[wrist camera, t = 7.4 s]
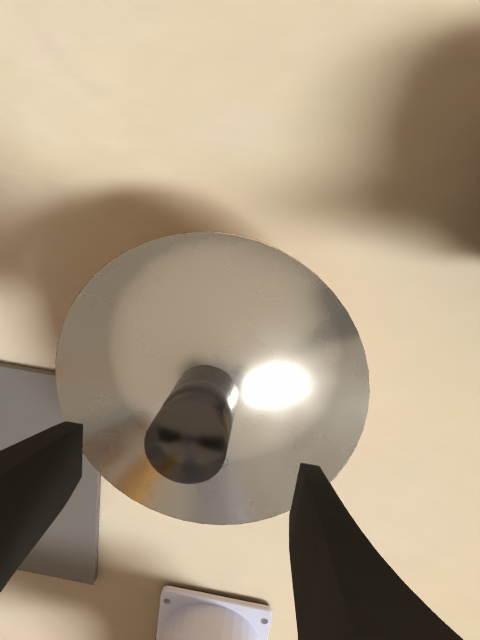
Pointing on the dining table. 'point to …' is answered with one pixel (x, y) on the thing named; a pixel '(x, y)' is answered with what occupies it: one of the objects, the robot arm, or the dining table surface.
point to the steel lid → (211, 376)
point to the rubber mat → (83, 506)
